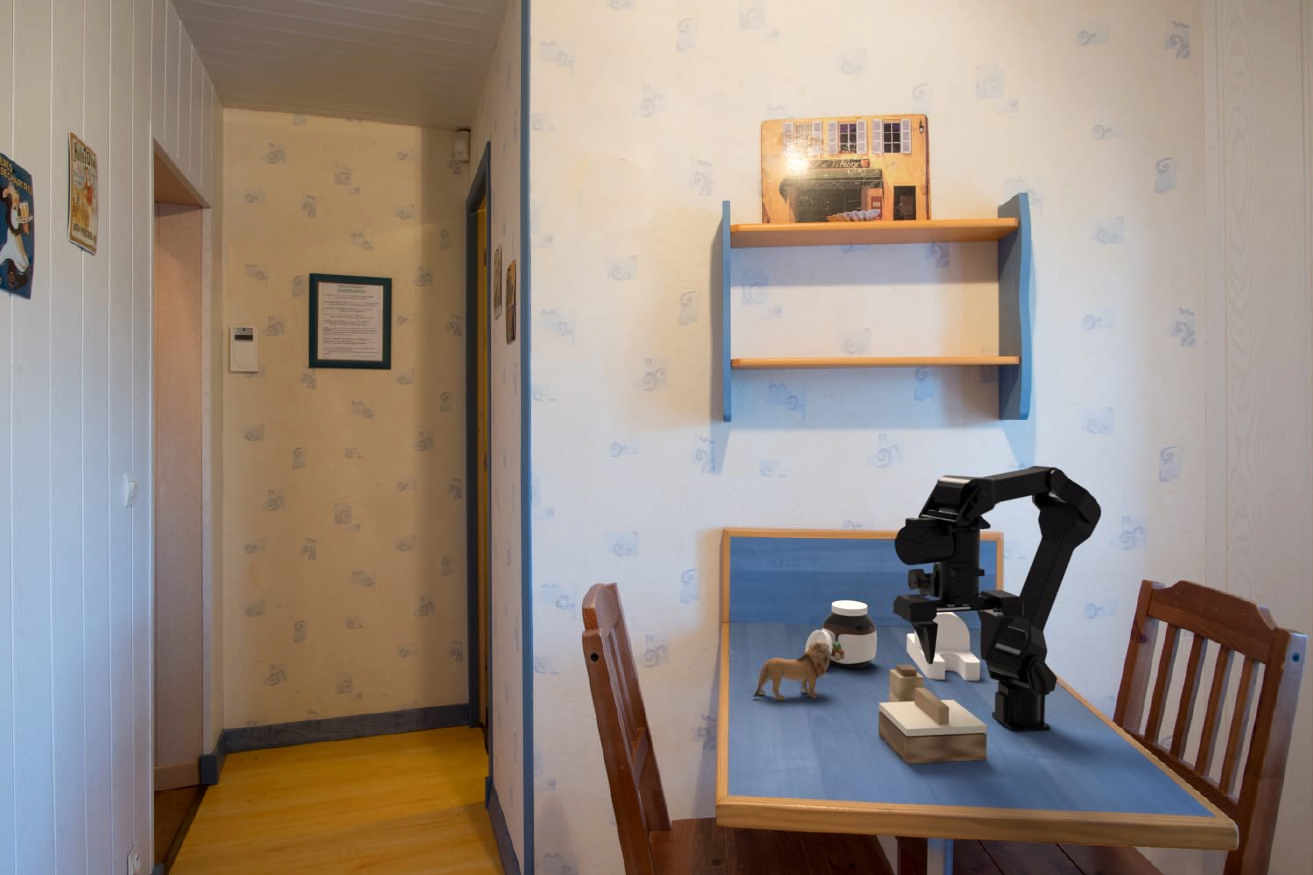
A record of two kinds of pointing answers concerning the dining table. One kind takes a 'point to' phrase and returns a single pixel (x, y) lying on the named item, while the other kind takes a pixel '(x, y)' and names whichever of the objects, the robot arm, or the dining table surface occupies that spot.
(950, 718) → the lid
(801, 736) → the dining table surface
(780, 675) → the lion figurine
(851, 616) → the spread jar
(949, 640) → the u-slot stand
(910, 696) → the wooden block
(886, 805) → the dining table surface
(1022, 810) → the dining table surface
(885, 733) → the wooden box
